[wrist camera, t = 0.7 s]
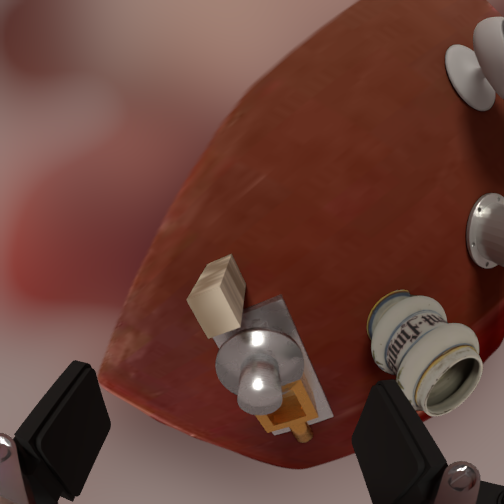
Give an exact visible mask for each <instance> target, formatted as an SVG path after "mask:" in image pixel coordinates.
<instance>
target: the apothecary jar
mask: <svg viewBox="0 0 504 504" xmlns="http://www.w3.org/2000/svg"><path fill="white" fill-rule="evenodd" d="M367 333H368V336H369V338H370V340H371V341H372V342H371V351H372V356H373V359H374V361H375V363H376V364H377V366H378V367H379V368H380V369H381V370H383V371H385V372H386V373H389V374H393V375H396V382H397V383H398V385H399V386H400V388H401V389H402V391H403V392H404V394H405V396H406V397H407V399H408V400H409V402H410V403H411V405H412V406H413V408H414V409H415V410H417V411H424V412H425V413H426V414H428V415H430V416H441V415H444V414H447V413H449V412H451V411H452V410H454V409H455V408H457V407H458V406H460V405H461V404H462V403H463V402H464V401H465V400H466V399H467V398H468V397H469V396H470V395H471V394H472V392H473V391H474V390H475V388H476V386H477V384H478V383H479V380H480V378H481V375H482V371H483V363H482V360H481V358H480V356H479V343H478V339H477V337H476V335H475V333H474V332H473V331H472V330H471V329H470V328H469V327H467V326H466V325H463V324H459V323H450V324H449V323H447V319H446V315H445V312H444V310H443V308H442V307H441V305H440V304H439V303H438V302H437V301H435V300H434V299H432V298H429V297H426V296H417V295H410V293H409V291H408V290H397V291H394V292H391V293H389V294H387V295H385V296H384V297H383V298H381V299H380V300H379V301H378V302H377V303H376V304H375V306H374V307H373V309H372V310H371V312H370V315H369V317H368V321H367Z"/></svg>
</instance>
